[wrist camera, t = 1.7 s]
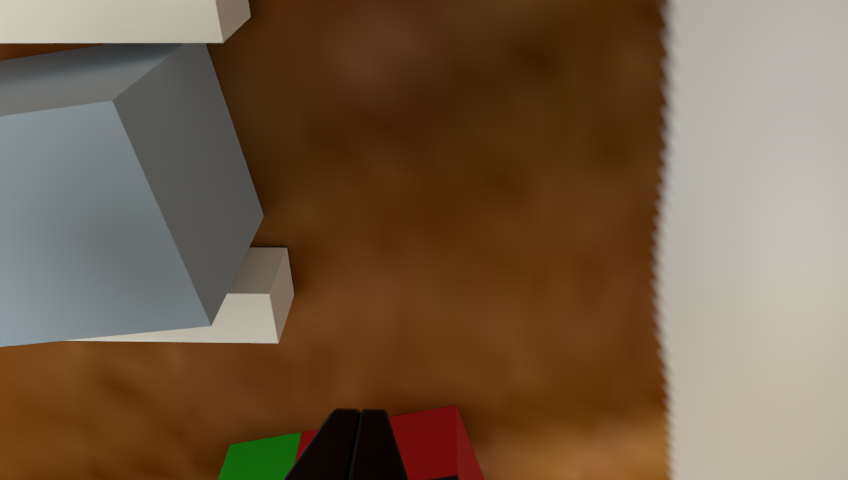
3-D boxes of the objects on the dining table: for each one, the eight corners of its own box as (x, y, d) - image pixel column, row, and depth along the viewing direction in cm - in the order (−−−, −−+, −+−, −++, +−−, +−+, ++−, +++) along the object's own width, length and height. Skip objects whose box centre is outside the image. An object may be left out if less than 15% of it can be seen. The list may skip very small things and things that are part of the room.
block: (264, 214, 20) (211, 326, 16) (93, 234, 21) (-6, 347, 16) (202, 29, 17) (111, 100, 12) (2, 59, 18) (-153, 137, 13)
